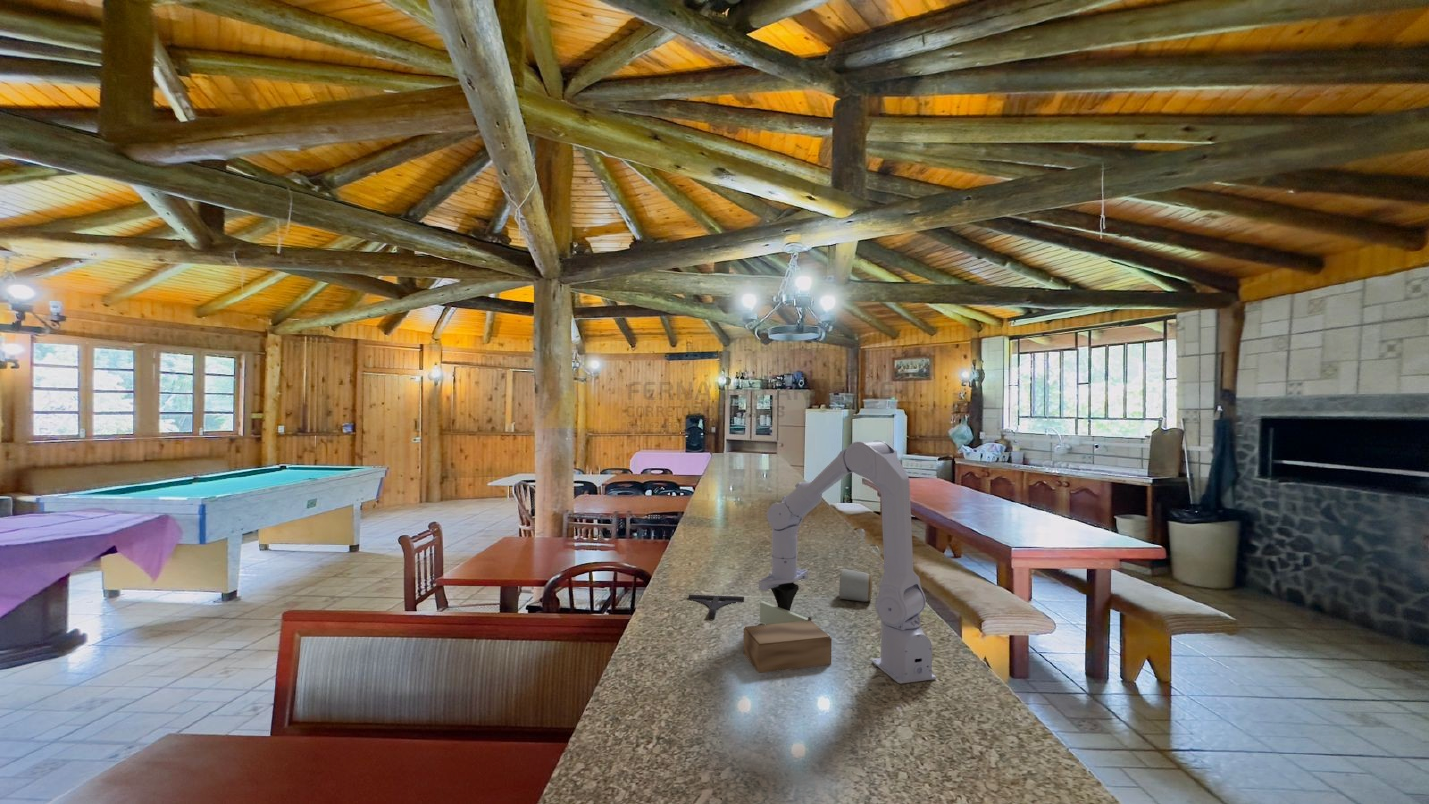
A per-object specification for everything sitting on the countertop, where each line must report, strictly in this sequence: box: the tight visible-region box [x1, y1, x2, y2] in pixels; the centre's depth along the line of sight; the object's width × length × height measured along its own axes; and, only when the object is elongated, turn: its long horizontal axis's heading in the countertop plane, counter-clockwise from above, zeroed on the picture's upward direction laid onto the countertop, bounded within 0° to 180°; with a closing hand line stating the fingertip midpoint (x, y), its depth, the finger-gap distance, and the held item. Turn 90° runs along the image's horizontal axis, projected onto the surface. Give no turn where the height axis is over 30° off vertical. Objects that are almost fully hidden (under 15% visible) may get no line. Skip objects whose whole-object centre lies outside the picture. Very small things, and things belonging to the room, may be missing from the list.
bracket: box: [688, 594, 745, 620], centre depth 138 cm, size 14×15×3 cm
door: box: [759, 600, 808, 625], centre depth 124 cm, size 14×2×5 cm, turn 40°
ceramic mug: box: [838, 568, 873, 603], centre depth 148 cm, size 11×8×8 cm
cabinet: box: [742, 616, 833, 674], centre depth 111 cm, size 10×15×6 cm, turn 106°
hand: (783, 616), depth 125 cm, fingers closed
